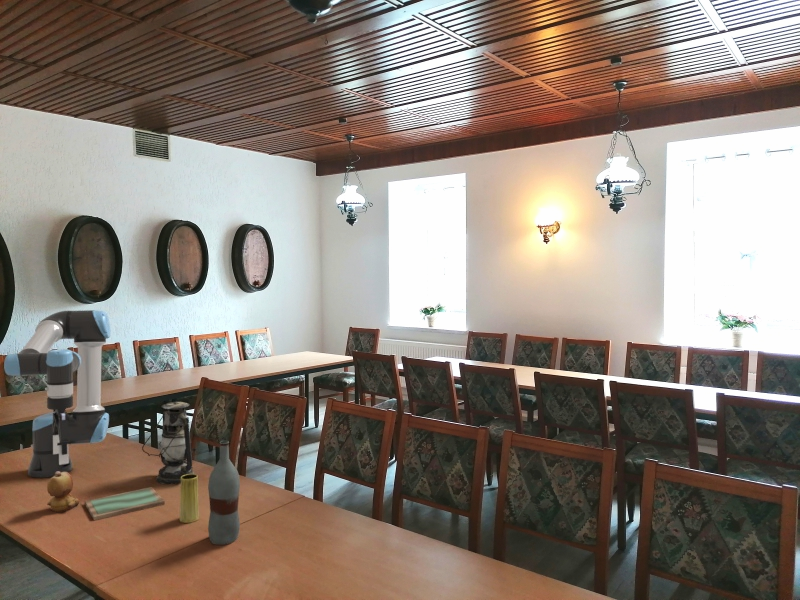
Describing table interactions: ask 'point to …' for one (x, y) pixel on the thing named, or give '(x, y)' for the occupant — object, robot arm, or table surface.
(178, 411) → the lantern
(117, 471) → the table surface
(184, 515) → the vase
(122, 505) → the green framed board
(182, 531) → the table surface
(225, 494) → the bottle
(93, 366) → the robot arm
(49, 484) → the figurine
